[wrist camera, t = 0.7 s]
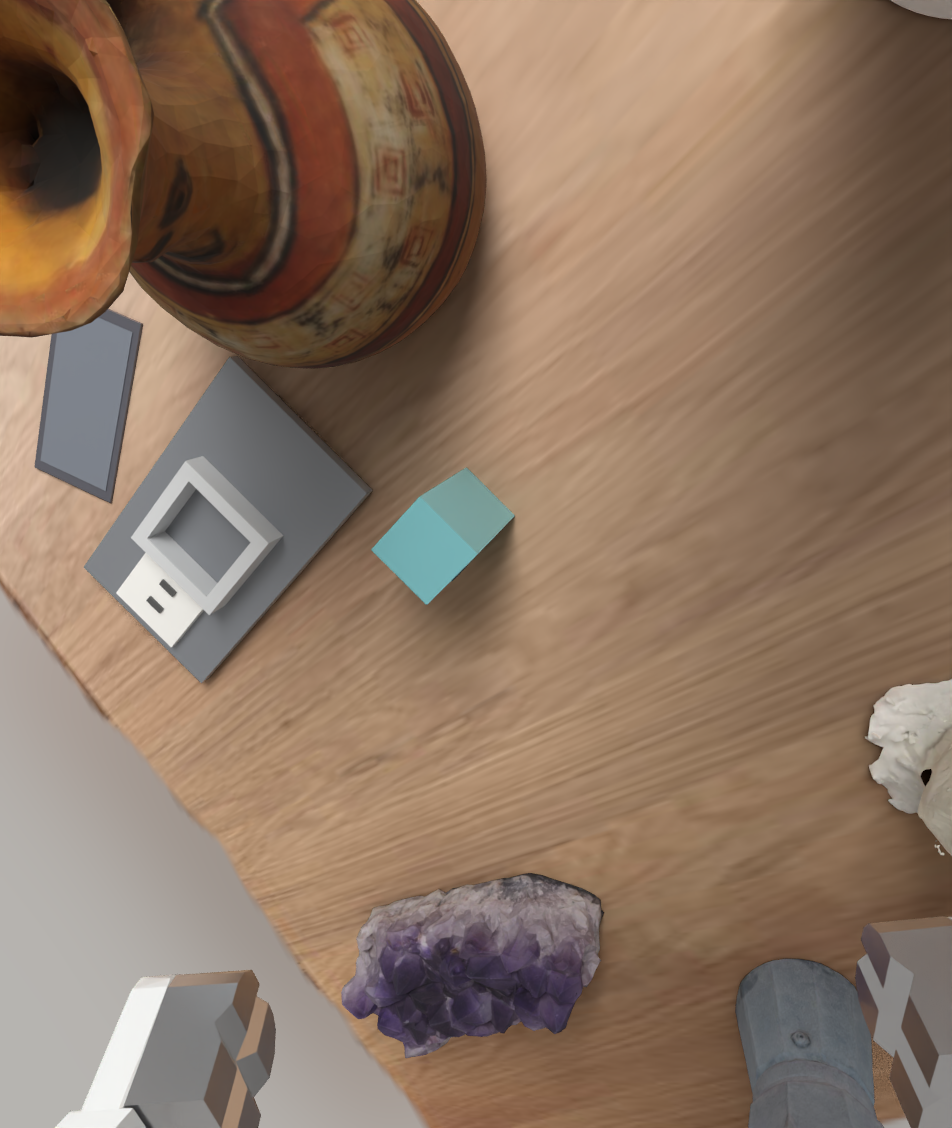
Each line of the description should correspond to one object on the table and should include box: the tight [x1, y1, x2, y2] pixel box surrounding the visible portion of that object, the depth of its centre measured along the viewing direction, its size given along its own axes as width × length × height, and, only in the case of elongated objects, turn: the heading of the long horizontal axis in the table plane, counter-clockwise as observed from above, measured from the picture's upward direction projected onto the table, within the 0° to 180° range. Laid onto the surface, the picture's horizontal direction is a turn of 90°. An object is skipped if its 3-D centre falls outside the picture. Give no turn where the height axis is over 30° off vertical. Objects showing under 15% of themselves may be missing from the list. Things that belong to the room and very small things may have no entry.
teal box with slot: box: [371, 467, 515, 605], centre depth 47 cm, size 4×5×9 cm
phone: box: [35, 309, 143, 503], centre depth 57 cm, size 7×14×1 cm, turn 160°
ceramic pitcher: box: [0, 0, 486, 368], centre depth 33 cm, size 20×20×30 cm
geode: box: [341, 873, 604, 1058], centre depth 57 cm, size 20×12×10 cm, turn 120°
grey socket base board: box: [84, 356, 373, 683], centre depth 56 cm, size 22×13×3 cm, turn 137°
